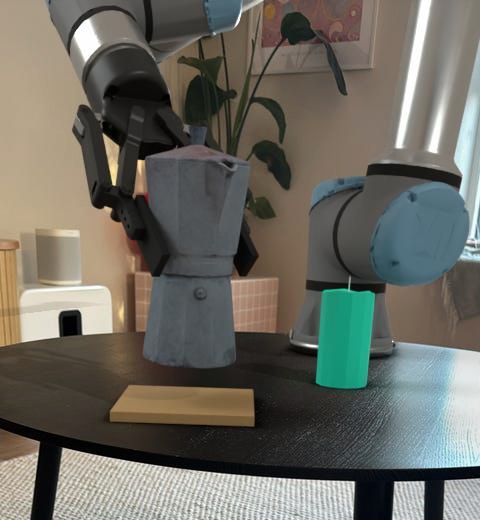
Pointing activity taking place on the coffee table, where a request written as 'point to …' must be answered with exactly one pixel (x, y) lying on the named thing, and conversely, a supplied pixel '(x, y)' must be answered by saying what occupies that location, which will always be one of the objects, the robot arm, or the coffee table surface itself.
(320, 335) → the candle
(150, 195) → the moka pot
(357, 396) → the coffee table surface
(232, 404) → the cork trivet
